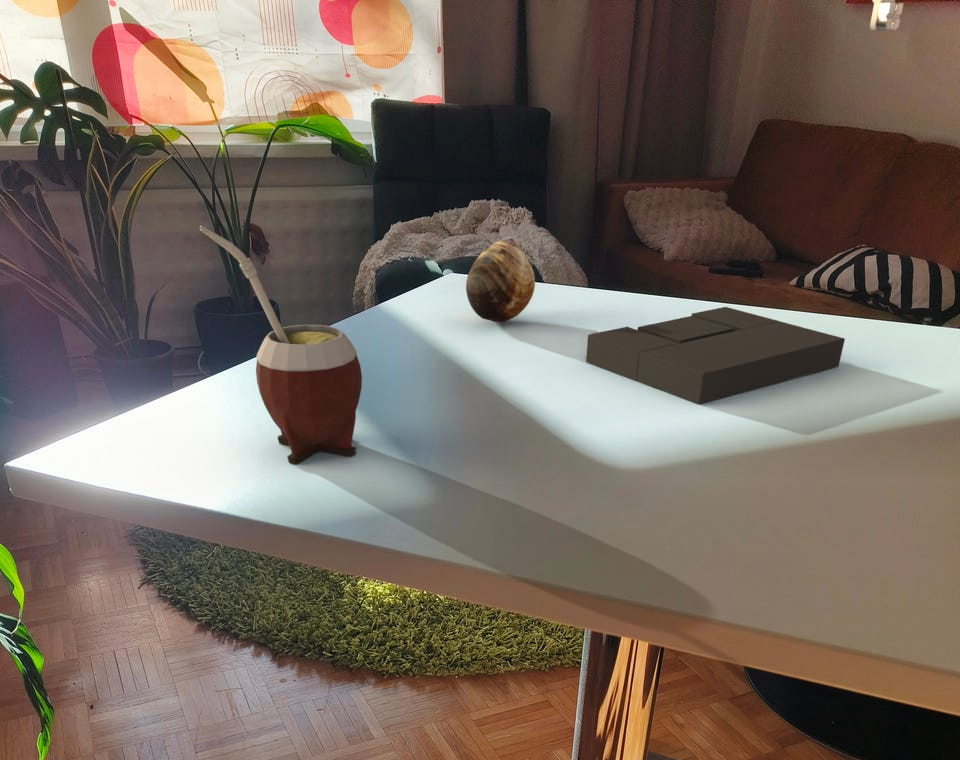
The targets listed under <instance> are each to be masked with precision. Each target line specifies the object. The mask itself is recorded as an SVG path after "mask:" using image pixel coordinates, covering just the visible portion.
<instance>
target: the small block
mask: <svg viewBox="0 0 960 760" xmlns="http://www.w3.org/2000/svg"><path fill="white" fill-rule="evenodd" d="M636 330H639V331H642V332H645V333H649V334H652V335H655V336H658V337H661V338H664V339H668V340H671V341H674V342H677V343H684V342H688V341H693V340H697V339H702V338H707V337H711V336H716V335H720V334H725V333H729V332H734V328H731V327H727V326H724V325H720V324H717V323H713V322H710V321H706V320H703V319H699V318H696V317H692V316H691V315H690V316H683V317H680V318H679V317H678V318H674V319H669V320H665V321H661V322H656V323H651V324H646V325H640V326H637V329H636Z"/></svg>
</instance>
